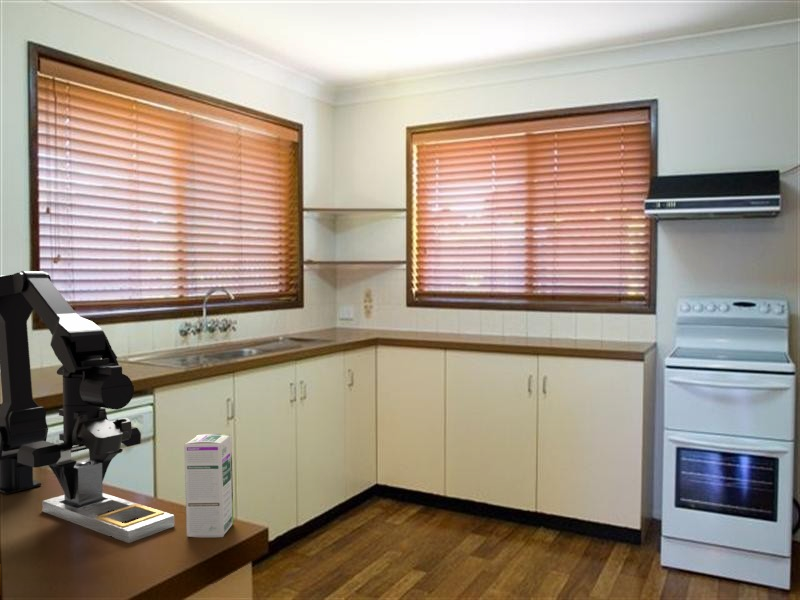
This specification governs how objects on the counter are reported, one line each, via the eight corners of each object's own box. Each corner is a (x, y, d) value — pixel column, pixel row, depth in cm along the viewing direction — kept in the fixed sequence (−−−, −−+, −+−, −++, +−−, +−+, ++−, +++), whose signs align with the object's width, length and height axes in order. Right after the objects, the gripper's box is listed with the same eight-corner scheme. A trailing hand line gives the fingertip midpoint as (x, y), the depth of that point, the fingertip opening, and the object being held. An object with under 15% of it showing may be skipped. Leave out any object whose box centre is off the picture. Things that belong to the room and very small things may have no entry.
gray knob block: (64, 512, 110) (63, 463, 110) (88, 505, 114) (87, 457, 114) (78, 517, 108) (78, 467, 108) (102, 509, 112) (102, 461, 111)
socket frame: (42, 511, 111) (42, 499, 111) (87, 498, 117) (87, 487, 117) (128, 543, 97) (128, 529, 97) (174, 526, 104) (174, 513, 104)
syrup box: (223, 537, 99) (222, 442, 99) (184, 537, 100) (183, 441, 99) (234, 523, 105) (233, 433, 105) (197, 523, 105) (196, 433, 105)
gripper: (52, 418, 98) (54, 522, 99) (160, 399, 114) (161, 489, 114) (14, 410, 104) (16, 507, 105) (121, 393, 120) (122, 478, 120)
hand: (83, 495), depth 111 cm, fingers closed on gray knob block, 4 cm apart
